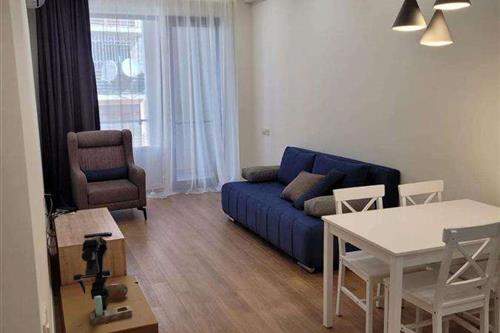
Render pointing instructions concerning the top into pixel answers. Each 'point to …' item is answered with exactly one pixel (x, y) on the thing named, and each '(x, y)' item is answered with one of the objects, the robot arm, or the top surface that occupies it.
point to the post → (98, 306)
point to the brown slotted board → (112, 314)
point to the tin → (117, 291)
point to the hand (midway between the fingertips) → (93, 292)
